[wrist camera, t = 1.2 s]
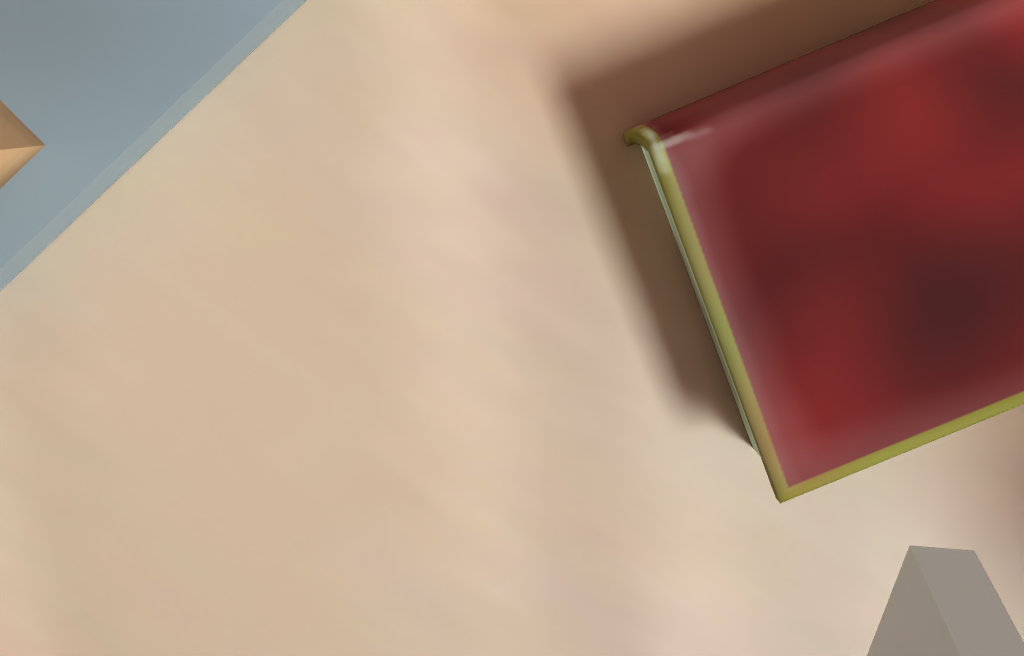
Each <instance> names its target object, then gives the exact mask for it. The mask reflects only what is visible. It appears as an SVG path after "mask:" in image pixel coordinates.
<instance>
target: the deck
mask: <svg viewBox="0 0 1024 656" xmlns="http://www.w3.org/2000/svg"><path fill="white" fill-rule="evenodd" d="M305 1H306V0H0V100H1V101H2V102H3V103H4V104H5V105H6V106H7V107H8V108H9V109H10V110H11V111H12V112H13V113H14V114H15V115H16V116H17V117H18V118H19V119H20V120H21V121H22V122H23V123H24V124H25V125H26V126H27V127H28V128H29V129H30V130H31V131H32V132H33V133H34V134H35V135H36V136H37V137H38V138H39V139H40V140H41V141H42V142H43V143H44V144H45V146H44V147H43V148H42V149H41V150H40V151H39V152H38V153H37V154H36V155H35V156H34V157H33V158H32V159H31V160H30V161H29V162H28V163H27V164H25V165H24V166H23V167H22V168H21V169H20V170H19V171H18V172H17V173H16V174H15V175H14V176H13V177H12V178H11V179H10V180H9V181H8V182H7V183H6V184H5V185H4V186H3V187H2V188H1V189H0V291H1V290H2V289H3V288H4V287H5V286H6V285H7V284H8V283H9V282H10V281H11V280H12V279H13V278H14V277H15V276H16V275H17V274H18V273H19V272H21V271H22V270H23V269H24V268H25V267H26V266H27V265H28V264H29V263H30V262H31V261H32V260H33V259H34V258H35V257H36V256H37V255H38V254H39V253H41V252H42V251H43V250H44V249H45V248H46V247H47V246H48V245H49V244H50V243H51V242H52V241H53V240H54V239H55V238H56V237H57V236H58V235H59V234H61V233H62V232H63V231H64V230H65V229H66V228H67V227H68V226H69V225H70V224H71V223H72V222H73V221H74V220H75V219H76V218H77V217H78V216H80V215H81V214H82V213H83V212H84V211H85V210H86V209H87V208H88V207H89V206H90V205H91V204H92V203H93V202H94V201H95V200H96V199H97V198H98V197H100V196H101V195H102V194H103V193H104V192H105V191H106V190H107V189H108V188H109V187H110V186H111V185H112V184H113V183H114V182H115V181H116V180H117V179H118V178H120V177H121V176H122V175H123V174H124V173H125V172H126V171H127V170H128V169H129V168H130V167H131V166H132V165H133V164H134V163H135V162H136V161H137V160H138V159H140V158H141V157H142V156H143V155H144V154H145V153H146V152H147V151H148V150H149V149H150V148H151V147H152V146H153V145H154V144H155V143H156V142H157V141H158V140H160V139H161V138H162V137H163V136H164V135H165V134H166V133H167V132H168V131H169V130H170V129H171V128H172V127H173V126H174V125H175V124H176V123H177V122H178V121H180V120H181V119H182V118H183V117H184V116H185V115H186V114H187V113H188V112H189V111H190V110H191V109H192V108H193V107H194V106H195V105H196V104H197V103H199V102H200V101H201V100H202V99H203V98H204V97H205V96H206V95H207V94H208V93H209V92H210V91H211V90H212V89H213V88H214V87H215V86H216V85H217V84H219V83H220V82H221V81H222V80H223V79H224V78H225V77H226V76H227V75H228V74H229V73H230V72H231V71H232V70H233V69H234V68H235V67H236V66H237V65H239V64H240V63H241V62H242V61H243V60H244V59H245V58H246V57H247V56H248V55H249V54H250V53H251V52H252V51H253V50H254V49H255V48H256V47H257V46H259V45H260V44H261V43H262V42H263V41H264V40H265V39H266V38H267V37H268V36H269V35H270V34H271V33H272V32H273V31H274V30H275V29H276V28H277V27H279V26H280V25H281V24H282V23H283V22H284V21H285V20H286V19H287V18H288V17H289V16H290V15H291V14H292V13H293V12H294V11H295V10H296V9H298V8H299V7H300V6H301V5H302V4H303V3H304V2H305Z"/></svg>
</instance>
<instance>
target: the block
mask: <svg viewBox="0 0 1024 656" xmlns="http://www.w3.org/2000/svg"><path fill="white" fill-rule="evenodd" d="M44 146H45V144H44V143H43V142H42V141H41V140H40V139H39V138H38V137H37V136H36V135H35V134H34V133H33V132H32V131H31V130H30V129H29V128H28V127H27V126H26V125H25V124H24V123H23V122H22V121H21V120H20V119H19V118H18V117H17V116H16V115H15V114H14V113H13V112H12V111H11V110H10V109H9V108H8V107H7V106H6V105H5V104H4V103H3V102H2V101H1V100H0V189H1V188H2V187H3V186H4V185H5V184H6V183H7V182H8V181H9V180H10V179H11V178H12V177H13V176H14V175H15V174H16V173H17V172H18V171H19V170H20V169H21V168H22V167H23V166H24V165H25V164H27V163H28V162H29V161H30V160H31V159H32V158H33V157H34V156H35V155H36V154H37V153H38V152H39V151H40V150H41V149H42V148H43V147H44Z"/></svg>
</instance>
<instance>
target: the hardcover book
mask: <svg viewBox="0 0 1024 656" xmlns="http://www.w3.org/2000/svg"><path fill="white" fill-rule="evenodd" d="M623 136H624V138H625V141H626V144H627V146H629V145H632V144H634V143H637V144H639V145H641V148H642V150H643V153H644V156H645V159H646V161H647V164H648V167H649V169H650V172H651V175H652V177H653V180H654V183H655V186H656V188H657V191H658V194H659V196H660V199H661V202H662V205H663V207H664V210H665V213H666V215H667V218H668V221H669V223H670V226H671V229H672V232H673V234H674V237H675V240H676V242H677V245H678V248H679V251H680V253H681V256H682V259H683V261H684V264H685V267H686V269H687V272H688V275H689V278H690V280H691V283H692V286H693V288H694V291H695V294H696V296H697V299H698V302H699V305H700V307H701V310H702V313H703V315H704V318H705V321H706V324H707V326H708V329H709V332H710V334H711V337H712V340H713V342H714V345H715V348H716V351H717V353H718V356H719V359H720V361H721V364H722V367H723V370H724V372H725V375H726V378H727V380H728V383H729V386H730V388H731V391H732V394H733V397H734V399H735V402H736V405H737V407H738V410H739V413H740V415H741V418H742V421H743V424H744V426H745V429H746V432H747V434H748V437H749V440H750V443H751V445H752V447H753V449H754V450H755V451H756V452H757V453H758V454H759V455H760V456H761V459H762V461H763V464H764V467H765V470H766V472H767V475H768V478H769V480H770V483H771V486H772V488H773V491H774V494H775V497H776V499H777V500H778V501H779V502H780V503H782V502H785V501H787V500H790V499H792V498H795V497H797V496H799V495H802V494H804V493H807V492H809V491H812V490H814V489H817V488H819V487H821V486H824V485H826V484H829V483H831V482H834V481H836V480H839V479H841V478H843V477H846V476H848V475H851V474H853V473H856V472H858V471H861V470H863V469H866V468H868V467H870V466H873V465H875V464H878V463H880V462H883V461H885V460H888V459H890V458H892V457H895V456H897V455H900V454H902V453H905V452H907V451H910V450H912V449H914V448H917V447H919V446H922V445H924V444H927V443H929V442H932V441H934V440H936V439H939V438H941V437H944V436H946V435H949V434H951V433H954V432H956V431H958V430H961V429H963V428H966V427H968V426H971V425H973V424H976V423H978V422H980V421H983V420H985V419H988V418H990V417H993V416H995V415H998V414H1000V413H1002V412H1005V411H1007V410H1010V409H1012V408H1015V407H1017V406H1020V405H1022V404H1024V0H935V1H933V2H930V3H928V4H926V5H923V6H921V7H918V8H916V9H914V10H911V11H909V12H907V13H904V14H902V15H900V16H897V17H895V18H892V19H890V20H888V21H885V22H883V23H881V24H878V25H876V26H873V27H871V28H869V29H866V30H864V31H862V32H859V33H857V34H855V35H852V36H850V37H847V38H845V39H843V40H840V41H838V42H836V43H833V44H831V45H828V46H826V47H824V48H821V49H819V50H817V51H814V52H812V53H810V54H807V55H805V56H802V57H800V58H798V59H795V60H793V61H791V62H788V63H786V64H783V65H781V66H779V67H776V68H774V69H772V70H769V71H767V72H765V73H762V74H760V75H757V76H755V77H753V78H750V79H748V80H746V81H743V82H741V83H738V84H736V85H734V86H731V87H729V88H727V89H724V90H722V91H720V92H717V93H715V94H712V95H710V96H708V97H705V98H703V99H701V100H698V101H696V102H693V103H691V104H689V105H686V106H684V107H682V108H679V109H677V110H675V111H672V112H670V113H667V114H665V115H663V116H660V117H658V118H656V119H653V120H651V121H648V122H646V123H644V124H641V125H639V126H637V127H634V128H632V129H630V130H627V131H625V133H624V134H623Z"/></svg>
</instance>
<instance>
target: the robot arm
mask: <svg viewBox="0 0 1024 656" xmlns="http://www.w3.org/2000/svg"><path fill="white" fill-rule="evenodd" d="M867 656H1024V642H1023V640H1022V638H1021V637H1020V635H1019V633H1018V631H1017V629H1016V627H1015V625H1014V624H1013V622H1012V620H1011V618H1010V616H1009V614H1008V612H1007V611H1006V609H1005V607H1004V605H1003V603H1002V601H1001V599H1000V598H999V596H998V594H997V592H996V590H995V588H994V586H993V585H992V583H991V581H990V579H989V577H988V575H987V573H986V572H985V570H984V568H983V566H982V564H981V562H980V560H979V559H978V557H977V555H976V553H975V551H972V550H959V549H947V548H934V547H922V546H909V549H908V551H907V554H906V557H905V559H904V562H903V564H902V567H901V569H900V572H899V575H898V577H897V580H896V582H895V585H894V587H893V590H892V593H891V595H890V598H889V600H888V603H887V606H886V608H885V611H884V613H883V616H882V618H881V621H880V624H879V626H878V629H877V631H876V634H875V636H874V639H873V642H872V644H871V647H870V649H869V652H868V655H867Z"/></svg>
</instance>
